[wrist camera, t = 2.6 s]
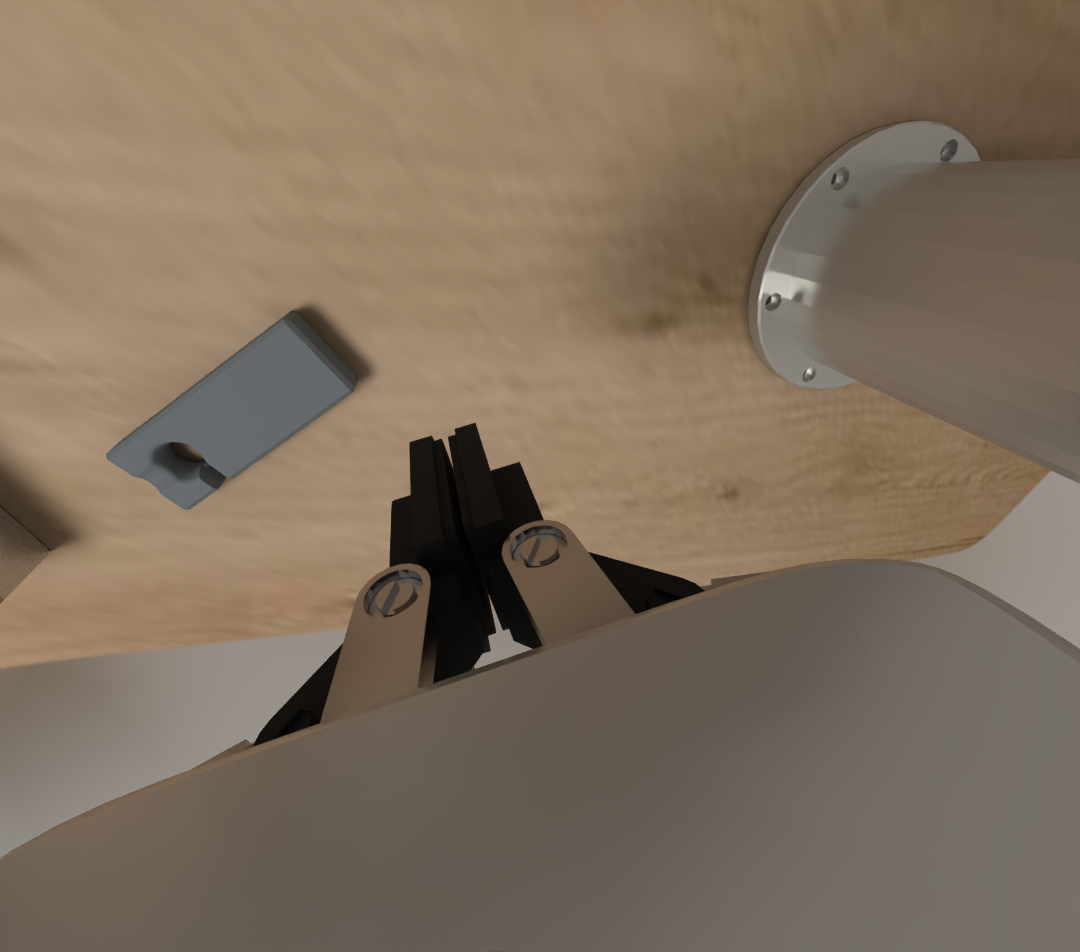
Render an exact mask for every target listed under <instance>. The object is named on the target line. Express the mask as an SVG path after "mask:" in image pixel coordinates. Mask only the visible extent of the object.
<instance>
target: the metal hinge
mask: <svg viewBox="0 0 1080 952" xmlns="http://www.w3.org/2000/svg"><path fill="white" fill-rule="evenodd" d="M50 552H51V551H50V550H49V549H48V548H47V547H45V546H44V545H43V544H42V543H41V542H40V541H39V540H37V539H36V538H35V537H34V536H33V535H32V534H31V533H29V532H28V531H27V530H26V529H25V528H24V527H23V526H21V525H20V524H19V523H18V522H17V521H16V520H15V519H14V518H12V517H11V516H10V515H9V514H8V513H7V512H6V511H4V510H3V509H2V508H1V507H0V603H1V602H2V601H3V600H5V598H6V597H7V596H8V595H9V594H10V593H11V592H12V591H13V590H14V589H15V588H16V587H17V586H18V585H19V584H20V583H21V582H22V581H23V580H24V579H25V578H26V577H27V576H28V575H29V574H30V573H31V572H32V571H33V570H34V569H35V568H36V567H37V566H38V565H39V564H40V563H41V561H42V560H43V559H44V558H45V557H46V556H47V555H48V554H49V553H50Z"/></svg>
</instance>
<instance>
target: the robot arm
mask: <svg viewBox="0 0 1080 952" xmlns="http://www.w3.org/2000/svg"><path fill="white" fill-rule="evenodd" d="M748 316H749V330H750V333H751V337H752V341H753V344H754V348H755V349H756V351H757V353H758V355H759V357H760V358H761V360H762V362H763V363H764V364H765V365H766V366H767V367H768V368H769V369H770V370H771V371H772V372H773V373H774V374H776V375H777V376H779V377H781V378H782V379H784V380H786V381H787V382H789V383H791V384H794V385H796V386H799V387H801V388H807V389H816V390H825V389H834V388H840V387H843V386H846V385H850V384H853V383H856V382H858V381H859V382H861V383H863V384H865V385H867V386H869V387H872V388H874V389H876V390H878V391H880V392H882V393H885V394H887V395H889V396H891V397H893V398H895V399H898V400H900V401H902V402H904V403H906V404H908V405H911V406H913V407H915V408H917V409H919V410H921V411H923V412H926V413H928V414H930V415H932V416H934V417H936V418H939V419H941V420H943V421H945V422H947V423H949V424H952V425H954V426H956V427H958V428H960V429H962V430H965V431H967V432H969V433H971V434H973V435H975V436H978V437H980V438H982V439H984V440H986V441H988V442H991V443H993V444H995V445H997V446H999V447H1001V448H1004V449H1006V450H1008V451H1010V452H1012V453H1014V454H1017V455H1019V456H1021V457H1023V458H1025V459H1027V460H1030V461H1032V462H1034V463H1036V464H1038V465H1040V466H1042V467H1045V468H1047V469H1049V470H1051V471H1054V472H1055V473H1058V474H1060V475H1062V476H1064V477H1066V478H1068V479H1071V480H1073V481H1075V482H1077V483H1079V484H1080V158H1071V159H1037V160H1002V161H981V159H980V157H979V155H978V152H977V150H976V148H975V147H974V146H973V144H972V143H971V142H970V141H969V140H968V138H967V137H966V136H965V135H964V134H963V133H961V132H960V131H958V130H956V129H954V128H953V127H951V126H949V125H947V124H944V123H938V122H932V121H927V120H924V121H912V122H901V123H895V124H891V125H887V126H883V127H879V128H875V129H873V130H871V131H869V132H867V133H865V134H863V135H861V136H859V137H857V138H855V139H853V140H851V141H849V142H848V143H846V144H845V145H843V146H842V147H841V148H839V149H838V150H837V151H835V152H834V153H832V154H831V155H830V156H828V157H827V158H826V159H825V160H824V161H823V162H822V163H821V164H820V165H819V166H818V167H817V168H815V169H814V170H813V171H812V172H811V173H810V174H809V175H808V176H807V177H806V178H805V179H804V180H803V182H802V183H801V184H800V186H799V187H798V188H797V189H796V191H795V192H794V193H793V195H792V196H791V197H790V198H789V200H788V201H787V202H786V204H785V205H784V207H783V208H782V210H781V212H780V213H779V215H778V217H777V218H776V220H775V222H774V224H773V225H772V227H771V229H770V230H769V232H768V235H767V237H766V240H765V242H764V244H763V247H762V249H761V251H760V254H759V256H758V259H757V262H756V266H755V270H754V273H753V277H752V281H751V285H750V294H749V303H748ZM455 434H456V435H453V436H449V437H448V440H449V446H450V452H451V458H452V463H453V467H452V464H451V462H450V459H449V456H448V454H447V451H446V448H445V446H444V443H443V441H442V439H439V440H436V441H434V439H433V437H432V436H429V437H426V438H422V439H419V440H415V441H412V442H410V485H411V495H410V496H406V497H403V498H400V499H396V500H394V501H392V509H391V538H390V566H389V568H387V569H385V570H384V571H382V572H380V573H378V574H377V575H375V576H374V577H373V578H372V579H370V580H369V581H368V582H367V583H366V584H365V586H364V587H363V588H362V589H361V590H360V592H359V594H358V597H357V599H356V601H355V605H354V608H353V611H352V615H351V618H350V622H349V625H348V629H347V632H346V635H345V639H344V642H343V644H342V645H341V646H340V647H339V648H338V649H337V650H336V651H335V652H334V653H333V654H332V655H331V656H330V657H329V658H328V659H327V661H326V662H325V663H324V664H323V665H322V666H321V667H320V668H319V669H318V670H317V671H316V672H315V673H314V674H313V675H312V676H311V677H310V678H309V679H308V681H307V682H306V683H305V684H304V685H303V686H302V687H301V688H300V689H299V690H298V691H297V692H296V693H295V694H294V696H292V697H291V698H290V699H289V701H288V702H287V703H286V704H285V705H284V706H283V707H282V708H281V709H280V710H279V711H278V712H277V713H276V714H275V715H274V716H273V717H272V718H271V720H270V721H269V722H268V723H267V724H266V726H265V727H264V728H263V729H262V731H261V732H260V733H259V735H258V737H257V739H256V741H255V742H254V743H252V744H251V743H249V741H247V740H246V739H245V740H244V741H242V742H240V743H238V744H236V745H235V746H233V747H231V748H229V749H227V750H225V751H224V752H222V753H220V754H218V755H216V756H215V757H213V758H211V759H209V760H207V761H205V762H204V763H202V764H200V765H198V766H196V767H195V768H193V769H191V770H189V771H186V772H183V773H181V774H178V775H175V776H172V777H170V778H167V779H164V780H162V781H159V782H156V783H154V784H151V785H149V786H146V787H144V788H141V789H139V790H136V791H134V792H131V793H129V794H126V795H124V796H122V797H119V798H116V799H114V800H111V801H109V802H106V803H104V804H102V805H100V806H97V807H95V808H93V809H91V810H89V811H87V812H85V813H82V814H80V815H78V816H76V817H74V818H72V819H70V820H68V821H66V822H63V823H61V824H59V825H57V826H55V827H53V828H52V829H50V830H48V831H46V832H44V833H42V834H41V835H39V836H37V837H35V838H33V839H32V840H30V841H28V842H26V843H24V844H22V845H21V846H19V847H17V848H16V849H13V850H12V851H10V852H9V853H7V854H6V855H4V856H3V857H1V858H0V952H1080V649H1079V648H1078V647H1076V646H1075V645H1073V644H1072V643H1070V642H1069V641H1067V640H1066V639H1064V638H1062V637H1061V636H1059V635H1058V634H1056V633H1055V632H1053V631H1052V630H1050V629H1048V628H1047V627H1046V626H1044V625H1043V624H1041V623H1040V622H1038V621H1036V620H1035V619H1033V618H1032V617H1030V616H1029V615H1027V614H1025V613H1024V612H1022V611H1020V610H1019V609H1017V608H1015V607H1014V606H1012V605H1010V604H1009V603H1007V602H1005V601H1004V600H1002V599H1000V598H999V597H997V596H995V595H994V594H992V593H990V592H988V591H986V590H985V589H983V588H981V587H979V586H977V585H975V584H973V583H971V582H969V581H967V580H965V579H963V578H961V577H959V576H957V575H955V574H952V573H950V572H947V571H945V570H942V569H940V568H936V567H932V566H929V565H925V564H921V563H916V562H909V561H901V560H890V559H841V560H832V561H823V562H815V563H807V564H802V565H797V566H793V567H788V568H783V569H778V570H774V571H770V572H762V573H754V574H747V575H739V576H732V577H724V578H717V579H711V583H710V585H708V586H701V587H699V586H698V585H697V584H695V583H693V582H691V581H688V580H686V579H684V578H680V577H677V576H673V575H669V574H666V573H662V572H659V571H655V570H651V569H648V568H644V567H641V566H637V565H633V564H630V563H626V562H623V561H619V560H615V559H612V558H608V557H605V556H601V555H597V554H594V553H590V552H588V551H587V550H586V549H585V548H584V546H583V545H582V544H581V542H580V541H579V540H578V538H577V537H576V536H575V534H574V533H573V532H572V531H571V530H570V529H569V528H568V527H567V526H566V525H564V524H562V523H559V522H557V521H550V520H544V519H543V517H542V515H541V512H540V510H539V507H538V505H537V502H536V500H535V498H534V495H533V493H532V490H531V488H530V486H529V483H528V481H527V478H526V476H525V473H524V471H523V469H522V466H521V464H520V462H518V463H514V464H511V465H508V466H505V467H501V468H498V469H495V470H491V471H490V468H489V464H488V461H487V458H486V455H485V452H484V448H483V445H482V442H481V439H480V436H479V433H478V429H477V426H476V423H473V424H470V425H466V426H463V427H460V428H456V429H455ZM453 469H454V470H453ZM488 594H489V595H488ZM489 596H490V599H491V601H492V604H493V606H494V609H495V611H496V614H497V617H498V619H499V621H500V624H501V627H502V629H503V630H506V629H509V630H510V632H511V635H512V637H513V640H514V641H516V642H518V643H520V644H523V645H525V646H527V647H530V648H532V650H529V651H527V652H523V653H521V654H518V655H515V656H512V657H509V658H506V659H503V660H500V661H497V662H494V663H491V664H489V665H486V666H483V667H480V668H477V669H475V667H474V665H475V664H476V662H477V661H478V659H479V658H480V656H481V655H482V654H483V653H486V652H489V651H491V650H490V644H489V639H488V636H489V635H492V634H495V633H496V629H495V624H494V619H493V614H492V609H491V604H490V599H489Z"/></svg>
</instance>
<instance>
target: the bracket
mask: <svg viewBox="0 0 1080 952" xmlns="http://www.w3.org/2000/svg"><path fill="white" fill-rule="evenodd" d="M356 382H357V375H356V374H355V373H354V372H353V371H352V370H351V369H350V368H349V367H348V366H347V365H346V364H345V363H344V362H343V361H342V359H341V358H340V357H339V356H338V355H337V354H336V353H335V352H334V351H333V350H332V349H331V348H330V347H329V346H328V345H327V344H326V342H325V341H324V340H323V339H322V338H321V337H320V336H319V335H318V334H317V333H316V332H315V331H314V330H313V329H312V328H311V327H310V326H309V324H308V323H307V322H306V321H305V320H304V319H303V318H302V317H301V316H300V315H299V314H298V313H296V312H291V311H290V312H289V313H288V314H287V315H285V316H284V317H283V318H281V319H280V320H279V321H277V322H276V323H275V324H273V325H272V326H271V327H269V328H268V329H267V330H266V331H264V332H263V333H262V334H260V335H259V336H258V337H256V338H255V339H254V340H252V341H251V342H250V343H249V344H247V345H246V346H245V347H243V348H242V349H241V350H239V351H238V352H237V353H235V354H234V355H233V356H231V357H230V358H229V359H228V360H226V361H225V362H224V363H222V364H221V365H220V366H218V367H217V368H216V369H214V370H213V371H212V372H210V373H209V374H208V375H207V376H205V377H204V378H203V379H201V380H200V381H199V382H197V383H196V384H195V385H193V386H192V387H191V388H190V389H188V390H187V391H186V392H184V393H183V394H182V395H180V396H179V397H178V398H176V399H175V400H174V401H172V402H171V403H170V404H169V405H167V406H166V407H165V408H163V409H162V410H161V411H159V412H158V413H157V414H155V415H154V416H153V417H151V418H150V419H149V420H148V421H146V422H145V423H144V424H142V425H141V426H140V427H138V428H137V429H136V430H134V431H133V432H132V433H130V434H129V435H128V436H127V437H125V438H124V439H123V440H121V441H120V442H119V443H118V444H117V445H115V446H114V447H113V448H112V449H111V450H110V451H109V452H108V453H107V454H106V456H107V459H108V460H109V461H111V462H112V463H114V464H115V465H117V466H118V467H120V468H121V469H123V470H124V471H126V472H128V473H129V474H131V475H132V476H135V477H139V478H143V479H145V480H147V481H149V482H150V483H152V484H153V485H154V486H155V487H156V488H157V489H158V490H159V491H160V493H161V495H163V496H164V497H166V498H167V499H169V500H170V501H172V502H174V503H175V504H177V505H178V506H180V507H181V508H183V509H191V508H193V507H194V506H195V505H197V504H198V503H199V502H201V501H202V500H204V499H205V498H206V497H208V496H209V495H211V494H212V493H213V492H215V491H216V490H218V488H219V487H220V486H221V484H222V483H223V481H224V480H225V478H226V477H227V478H234V477H236V476H237V475H238V474H240V473H241V472H243V471H244V470H245V469H247V468H248V467H250V466H251V465H252V464H254V463H255V462H257V461H258V460H259V459H261V458H262V457H263V456H265V455H266V454H268V453H269V452H270V451H272V450H273V449H275V448H276V447H277V446H279V445H280V444H282V443H283V442H284V441H286V440H287V439H288V438H290V437H291V436H293V435H294V434H295V433H297V432H298V431H300V430H301V429H302V428H304V427H305V426H307V425H308V424H309V423H311V422H312V421H314V420H315V419H316V418H318V417H319V416H320V415H322V414H323V413H325V412H326V411H327V410H329V409H330V408H332V407H333V406H334V405H336V404H337V403H339V402H340V401H341V400H343V399H344V398H346V397H347V396H348V395H350V394H351V393H352V392H354V389H355V386H356ZM171 442H179V443H184V444H187V445H189V446H191V447H193V448H195V449H196V450H197V451H199V452H200V453H201V454H202V456H203V457H204V459H205V461H203V462H192V461H188V460H185V459H183V458H181V457H180V456H178V455H177V454H176V453H175V452H174V450H173V449H172V446H171Z"/></svg>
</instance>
